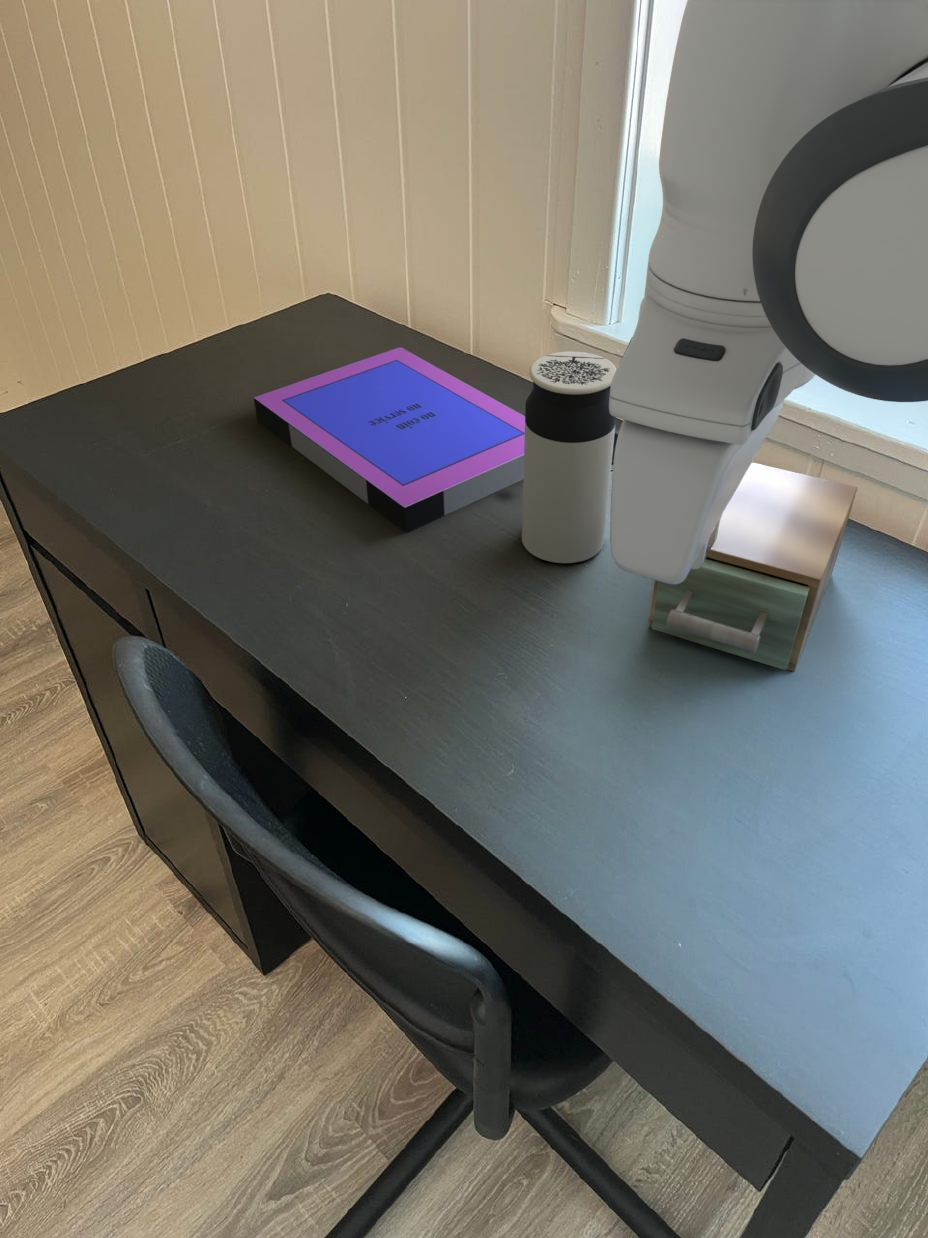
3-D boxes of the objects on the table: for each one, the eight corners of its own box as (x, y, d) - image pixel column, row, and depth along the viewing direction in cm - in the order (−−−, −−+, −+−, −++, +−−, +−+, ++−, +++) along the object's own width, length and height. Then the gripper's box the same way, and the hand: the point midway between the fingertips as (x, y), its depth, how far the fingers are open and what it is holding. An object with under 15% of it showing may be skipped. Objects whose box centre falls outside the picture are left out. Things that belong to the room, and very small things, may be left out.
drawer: (772, 704, 74) (793, 629, 68) (633, 659, 78) (643, 585, 73) (821, 579, 85) (842, 506, 80) (699, 545, 90) (711, 475, 85)
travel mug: (595, 572, 88) (611, 396, 77) (512, 558, 90) (516, 384, 78) (610, 525, 94) (627, 354, 82) (532, 513, 96) (538, 344, 84)
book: (400, 346, 120) (563, 437, 101) (401, 368, 121) (561, 461, 103) (253, 397, 110) (404, 507, 92) (257, 420, 112) (406, 532, 94)
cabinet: (794, 672, 78) (821, 579, 71) (648, 626, 82) (661, 536, 76) (831, 575, 87) (858, 486, 81) (699, 539, 92) (714, 453, 86)
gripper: (729, 249, 54) (695, 459, 63) (594, 398, 41) (576, 639, 50) (841, 266, 52) (790, 481, 61) (739, 430, 38) (692, 676, 47)
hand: (693, 553), depth 55 cm, fingers closed
